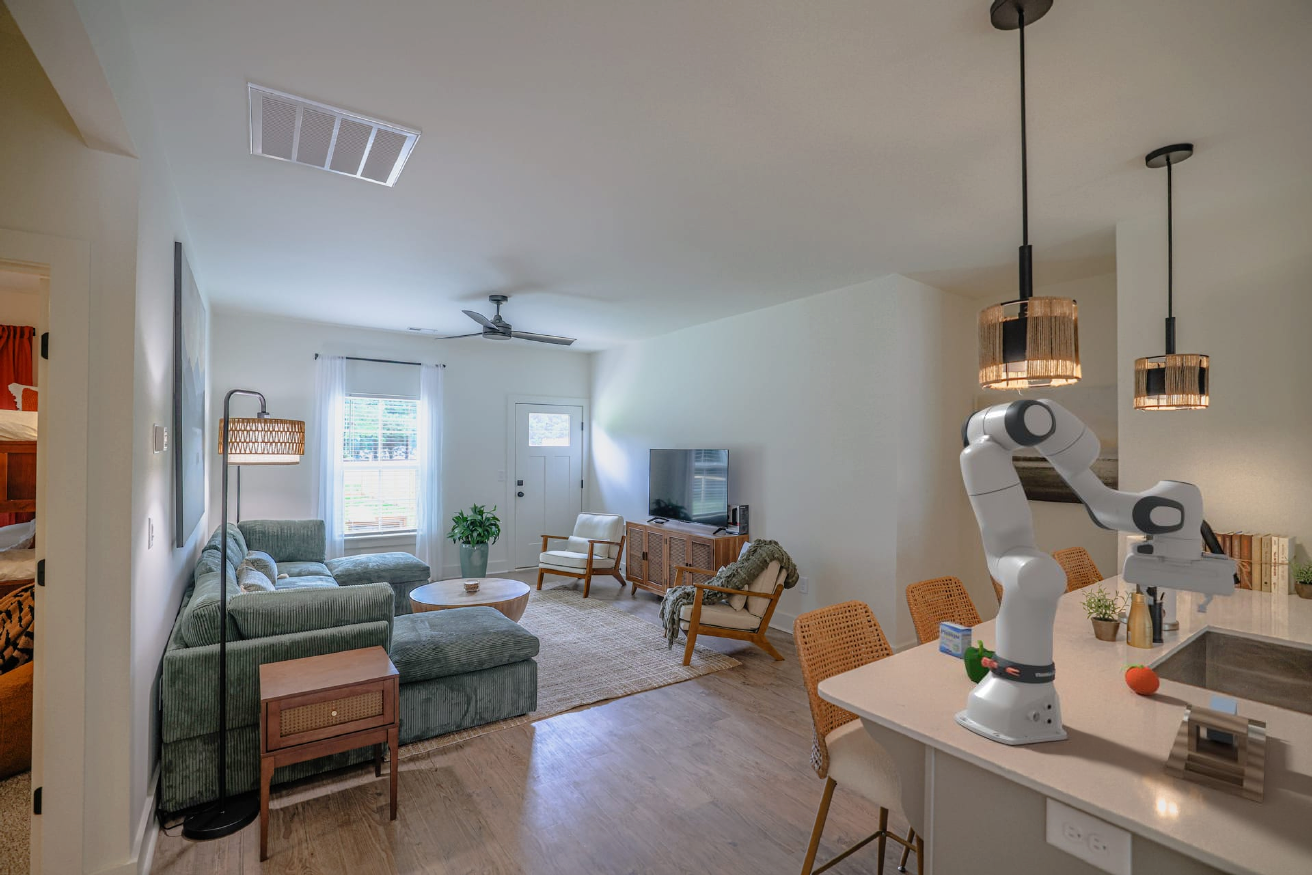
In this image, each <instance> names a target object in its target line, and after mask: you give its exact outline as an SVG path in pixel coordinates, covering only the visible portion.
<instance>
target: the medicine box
mask: <svg viewBox="0 0 1312 875" xmlns="http://www.w3.org/2000/svg"><path fill="white" fill-rule="evenodd" d="M972 631H973V629H972V628H971V627H968V626H965V625H961V624H957V623H955V622H952V621H942V622H940V623H939V640H938V641H939V645H938V648H939V649H938V650H939V651H940V652H941V653H943V654H946V655H949V656H952V657H956V658H958V659H961V660H962V659H963V660H964V653H965V651H966V650H967V648H969V647H970V646H971V647H972V641H973V640H972V637H973V636H972V634H973V632H972Z"/></svg>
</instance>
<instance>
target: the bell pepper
mask: <svg viewBox="0 0 1312 875" xmlns="http://www.w3.org/2000/svg"><path fill="white" fill-rule="evenodd" d="M977 644H978V646H979V647H974V646H972V645H971V646H970V647H969V648H967V650H966V651H965V653H964V658H963V662H964V667H965V670H966V675H967V676H968V678H969V679H970V680H972V681H973V682H975V683H979V682H980V681H981V680H982V679H983V678H984V677H985V676H986V675H987V674H988V673H989V671H990V669H989V667H985V666H983V665H982V663H981V662H982V660H983V658H984V657H986V658H988V659H992V656H993V653H994V652H995V651H994V650H988V649H987V648H985V647H984V643H983V641H982V640H980V639H978V640H977Z"/></svg>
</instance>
